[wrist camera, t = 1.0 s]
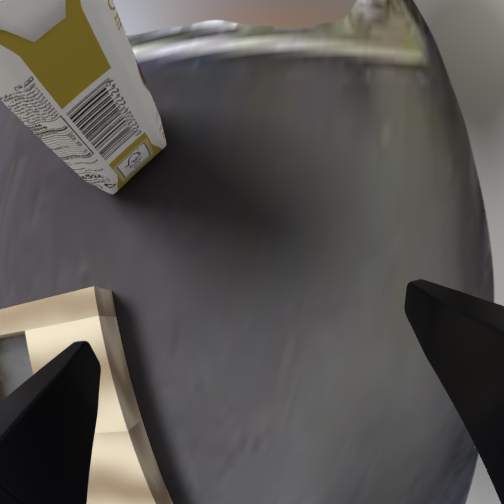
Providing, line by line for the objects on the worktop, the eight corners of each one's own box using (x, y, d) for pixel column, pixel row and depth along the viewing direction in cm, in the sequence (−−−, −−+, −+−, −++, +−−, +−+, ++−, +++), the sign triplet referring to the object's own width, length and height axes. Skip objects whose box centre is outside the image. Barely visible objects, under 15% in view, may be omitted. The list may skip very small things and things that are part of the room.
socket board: (181, 521, 19) (173, 540, 16) (31, 508, 18) (16, 518, 15) (111, 290, 23) (93, 286, 20) (-25, 322, 22) (-45, 320, 19)
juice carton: (113, 209, 24) (-53, 52, 5) (66, 152, 25) (-57, 16, 7) (181, 146, 25) (104, -66, 6) (126, 98, 26) (46, -64, 8)
